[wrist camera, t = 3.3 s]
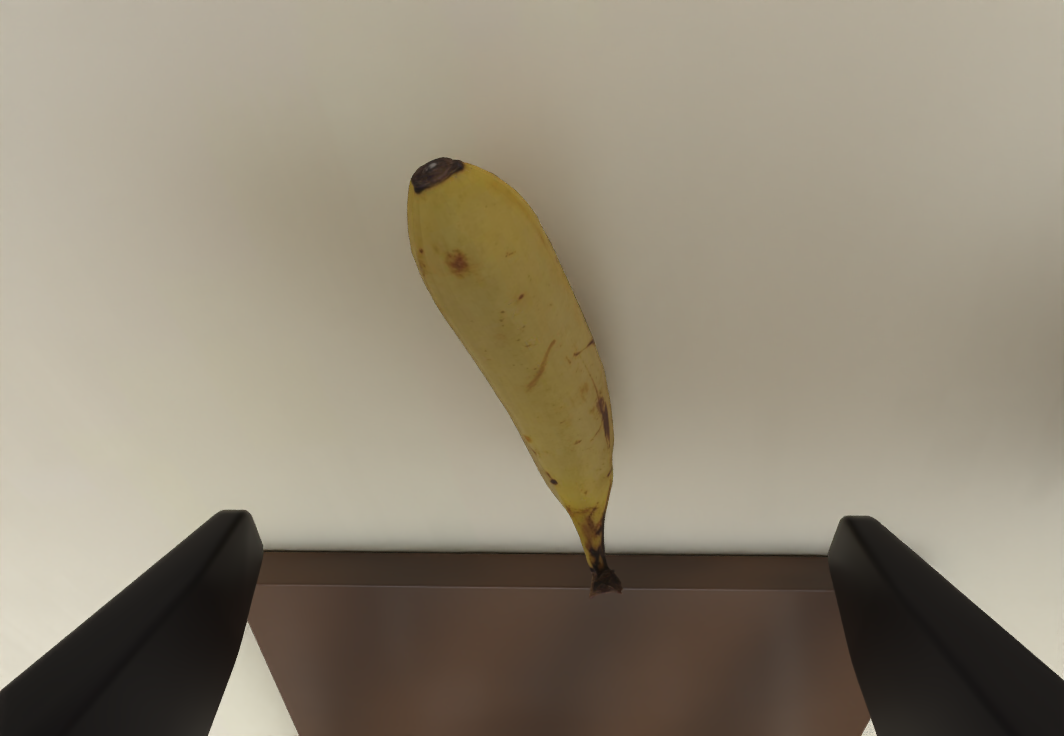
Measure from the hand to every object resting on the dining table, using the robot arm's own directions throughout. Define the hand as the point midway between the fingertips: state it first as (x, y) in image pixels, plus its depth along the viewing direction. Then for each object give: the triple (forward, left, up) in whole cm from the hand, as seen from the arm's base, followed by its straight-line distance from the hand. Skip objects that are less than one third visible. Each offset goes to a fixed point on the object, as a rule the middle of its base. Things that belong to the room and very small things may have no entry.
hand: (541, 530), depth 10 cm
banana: (0, 0, -6) cm, 6 cm away
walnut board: (-1, +14, -6) cm, 16 cm away
